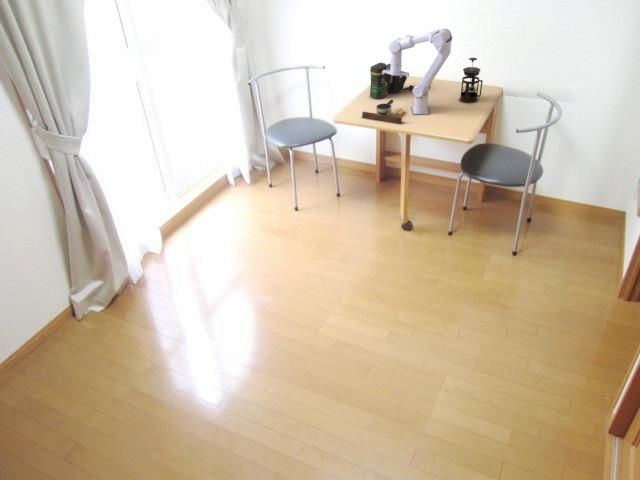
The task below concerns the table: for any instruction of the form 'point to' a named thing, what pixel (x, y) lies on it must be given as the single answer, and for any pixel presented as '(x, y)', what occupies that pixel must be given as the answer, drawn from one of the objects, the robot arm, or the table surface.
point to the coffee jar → (378, 80)
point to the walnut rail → (382, 117)
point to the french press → (470, 91)
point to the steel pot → (384, 108)
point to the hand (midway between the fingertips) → (395, 88)
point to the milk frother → (396, 83)
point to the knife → (400, 113)
